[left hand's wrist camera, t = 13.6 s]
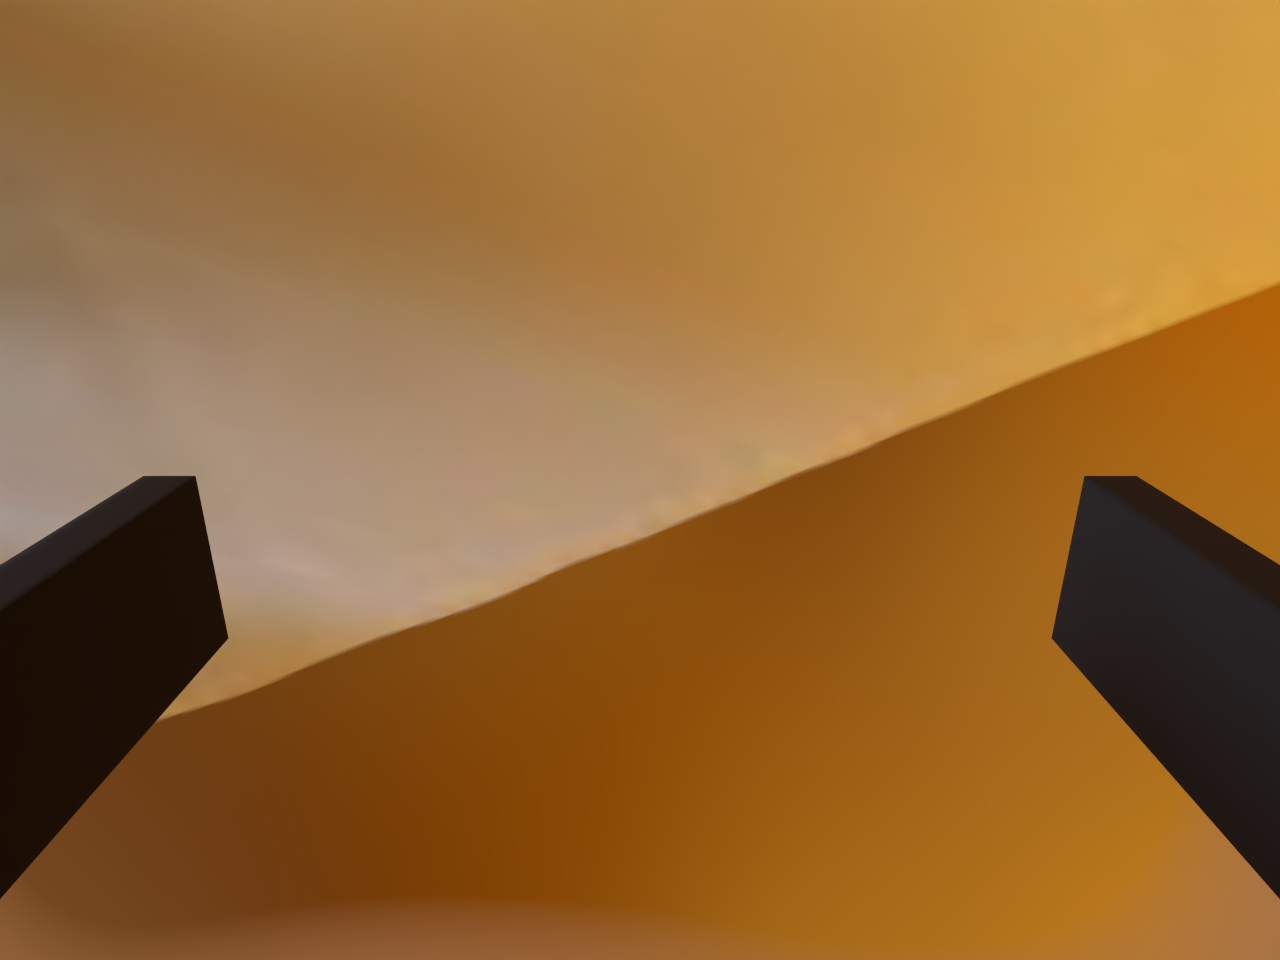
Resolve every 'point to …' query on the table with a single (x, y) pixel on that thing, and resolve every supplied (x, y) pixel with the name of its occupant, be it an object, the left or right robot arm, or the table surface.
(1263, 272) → the table surface
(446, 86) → the table surface
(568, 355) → the table surface
